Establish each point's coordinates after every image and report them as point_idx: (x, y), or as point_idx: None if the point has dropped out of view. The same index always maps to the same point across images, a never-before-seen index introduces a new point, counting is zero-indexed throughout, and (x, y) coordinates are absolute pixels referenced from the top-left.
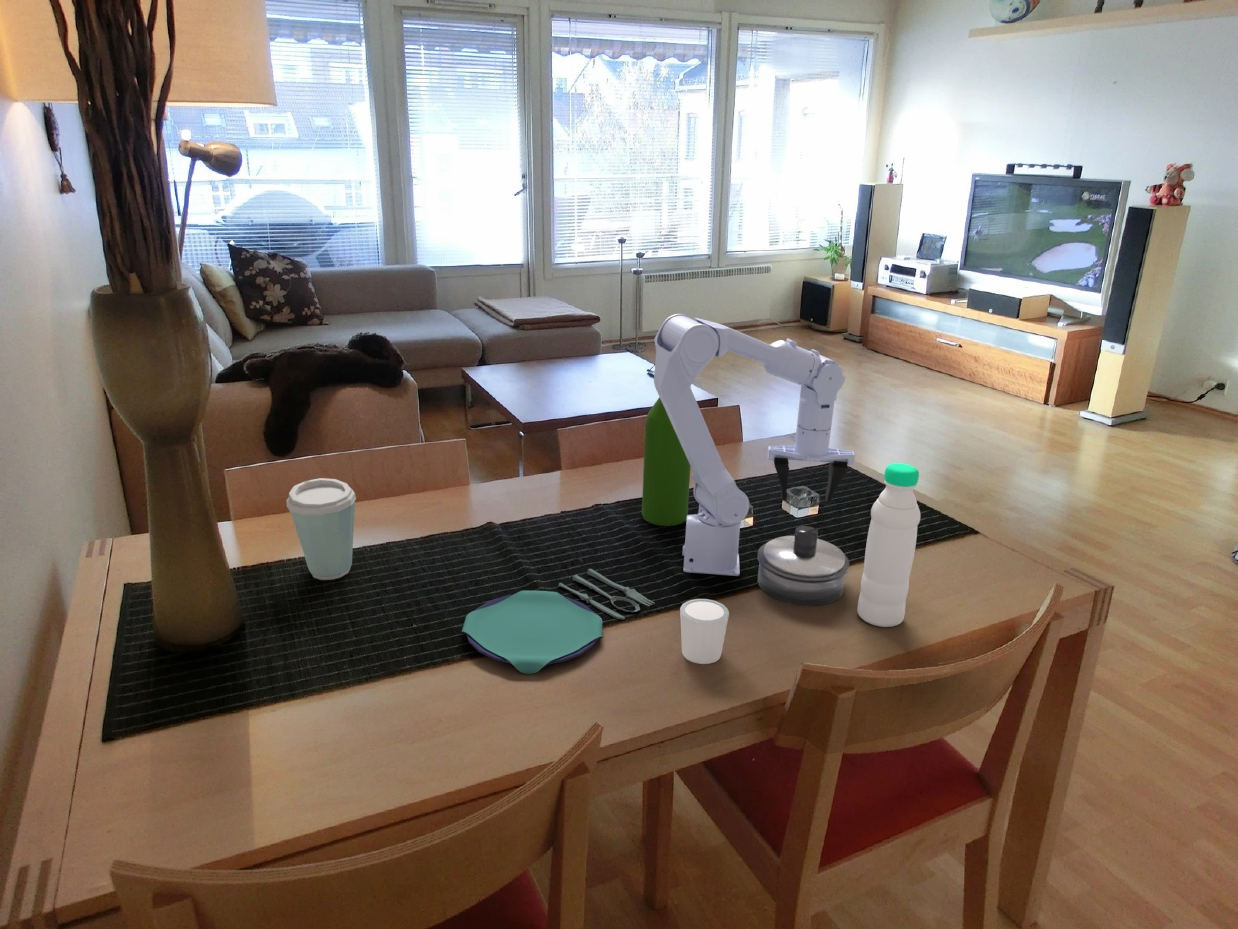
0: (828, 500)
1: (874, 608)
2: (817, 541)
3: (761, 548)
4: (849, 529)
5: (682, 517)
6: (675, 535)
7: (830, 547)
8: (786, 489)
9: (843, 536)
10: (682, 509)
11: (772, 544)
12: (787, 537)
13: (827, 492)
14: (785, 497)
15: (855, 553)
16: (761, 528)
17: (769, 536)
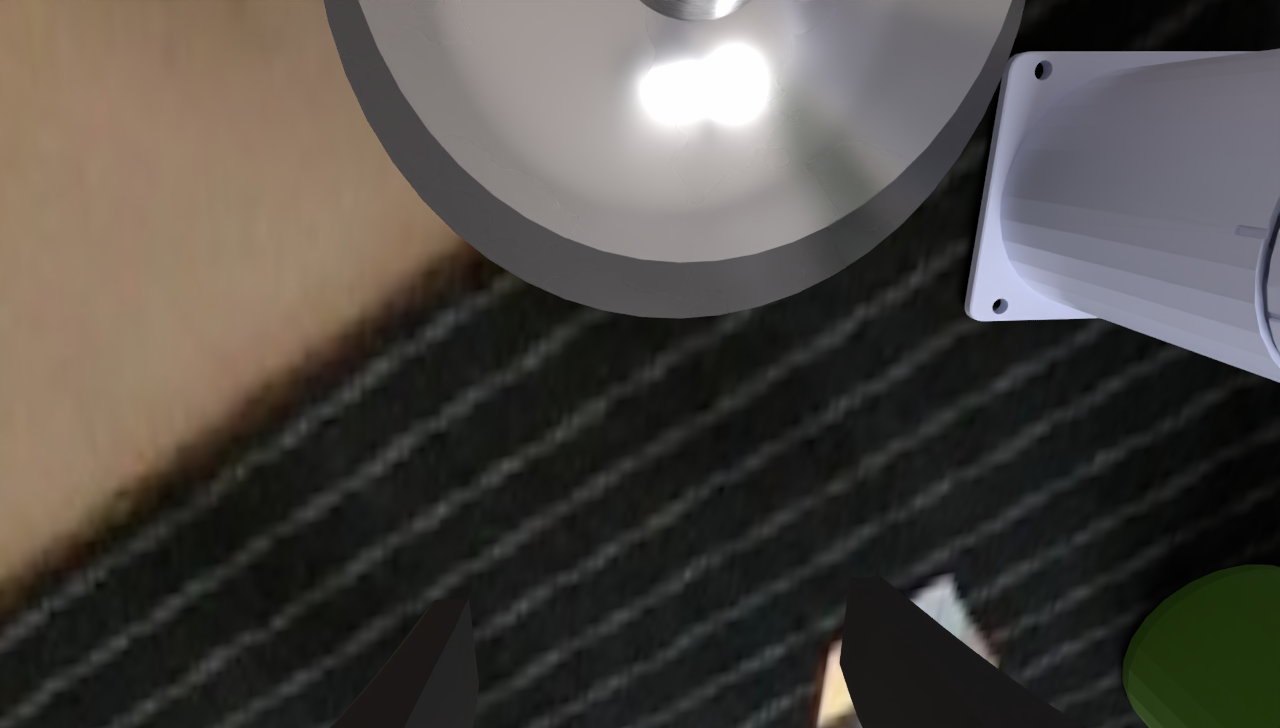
0: (448, 615)
1: None
2: (564, 183)
3: (981, 92)
4: None
5: (1185, 624)
6: (1220, 482)
7: (461, 75)
8: (918, 649)
9: (398, 628)
10: (1228, 655)
11: (940, 52)
12: (796, 214)
13: (451, 714)
14: (873, 592)
15: (335, 464)
16: (793, 629)
17: (765, 559)
